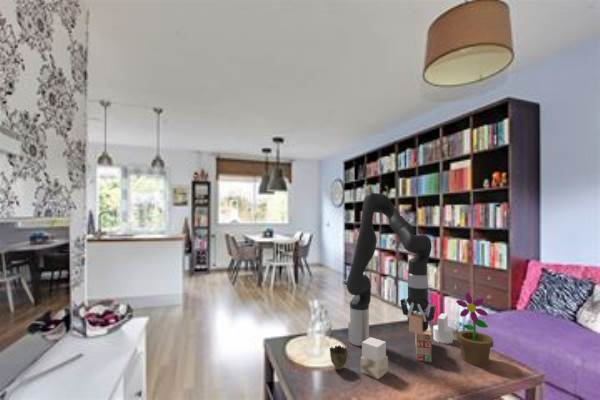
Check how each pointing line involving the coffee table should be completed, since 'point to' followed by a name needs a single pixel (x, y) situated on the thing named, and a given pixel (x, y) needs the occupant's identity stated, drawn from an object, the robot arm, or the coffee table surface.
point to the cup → (338, 356)
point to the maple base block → (374, 367)
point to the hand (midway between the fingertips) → (417, 328)
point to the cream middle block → (374, 349)
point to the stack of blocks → (424, 346)
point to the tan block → (416, 323)
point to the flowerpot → (474, 335)
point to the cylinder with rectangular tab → (443, 330)
